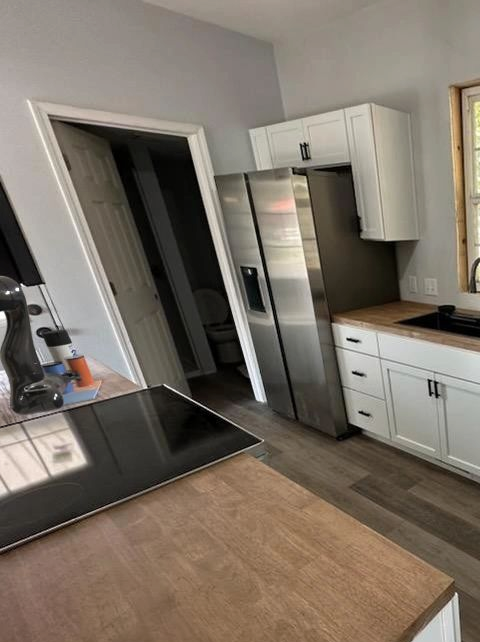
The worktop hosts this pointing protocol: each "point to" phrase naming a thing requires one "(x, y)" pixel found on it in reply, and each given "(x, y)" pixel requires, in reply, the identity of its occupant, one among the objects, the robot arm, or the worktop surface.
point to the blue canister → (57, 368)
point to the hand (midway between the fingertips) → (58, 374)
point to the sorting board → (82, 393)
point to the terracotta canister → (80, 370)
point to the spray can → (59, 346)
